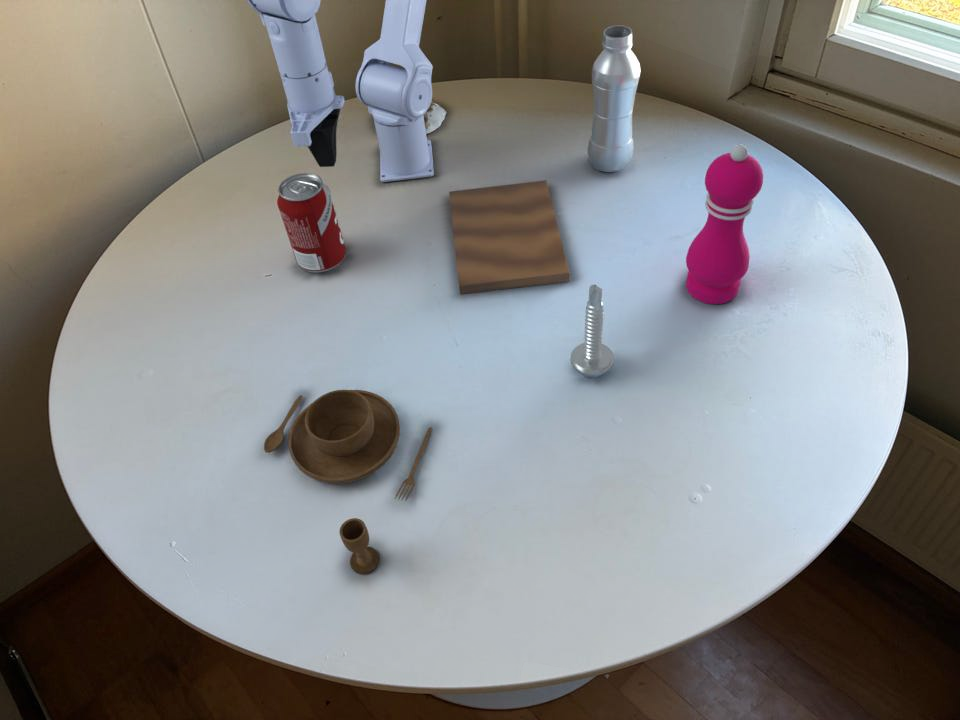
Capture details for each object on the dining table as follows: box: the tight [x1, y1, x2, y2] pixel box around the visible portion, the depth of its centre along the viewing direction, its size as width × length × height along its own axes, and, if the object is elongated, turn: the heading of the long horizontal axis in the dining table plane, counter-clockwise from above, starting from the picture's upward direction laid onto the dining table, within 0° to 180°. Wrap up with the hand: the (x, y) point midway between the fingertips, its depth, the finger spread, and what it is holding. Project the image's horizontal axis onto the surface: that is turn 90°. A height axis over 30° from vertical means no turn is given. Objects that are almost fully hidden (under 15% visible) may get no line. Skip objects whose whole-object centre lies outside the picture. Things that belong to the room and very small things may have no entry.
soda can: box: [276, 172, 347, 273], centre depth 99 cm, size 7×7×12 cm
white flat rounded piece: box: [423, 98, 448, 135], centre depth 124 cm, size 12×12×4 cm
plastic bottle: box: [587, 25, 642, 173], centre depth 106 cm, size 6×7×20 cm
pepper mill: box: [685, 143, 764, 305], centre depth 87 cm, size 7×7×20 cm
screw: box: [569, 284, 615, 379], centre depth 82 cm, size 13×5×5 cm
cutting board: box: [448, 179, 571, 295], centre depth 103 cm, size 20×14×2 cm
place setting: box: [263, 389, 433, 575], centre depth 78 cm, size 18×20×6 cm
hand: (327, 163), depth 102 cm, fingers closed
